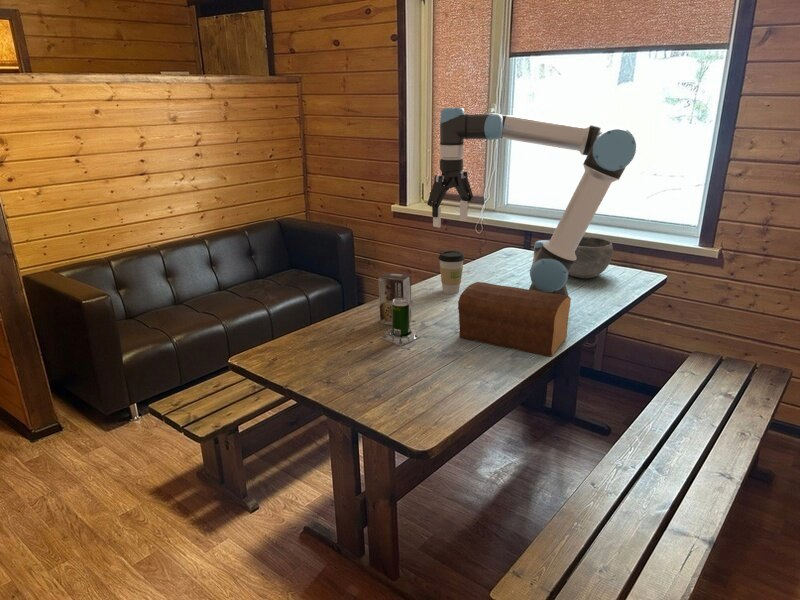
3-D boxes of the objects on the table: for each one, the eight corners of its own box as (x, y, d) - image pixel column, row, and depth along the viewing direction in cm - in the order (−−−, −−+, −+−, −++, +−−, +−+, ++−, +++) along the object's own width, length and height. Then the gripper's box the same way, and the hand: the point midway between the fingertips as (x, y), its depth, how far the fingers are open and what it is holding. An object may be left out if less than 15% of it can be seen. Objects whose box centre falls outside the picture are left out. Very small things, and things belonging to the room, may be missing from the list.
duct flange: (421, 337, 182) (421, 332, 181) (400, 346, 176) (400, 340, 175) (400, 329, 188) (400, 324, 187) (379, 337, 182) (379, 332, 181)
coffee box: (412, 320, 195) (411, 274, 189) (404, 327, 189) (403, 280, 184) (387, 316, 199) (386, 271, 193) (379, 323, 193) (377, 277, 188)
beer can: (406, 340, 178) (406, 303, 174) (390, 338, 180) (389, 302, 176) (411, 333, 183) (411, 297, 179) (395, 331, 185) (394, 296, 181)
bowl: (617, 284, 228) (621, 246, 222) (563, 284, 228) (566, 247, 223) (600, 268, 247) (604, 233, 242) (550, 268, 248) (553, 234, 242)
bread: (551, 360, 166) (555, 307, 160) (456, 339, 180) (457, 290, 175) (568, 337, 180) (572, 288, 175) (479, 320, 195) (480, 274, 189)
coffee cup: (464, 295, 217) (465, 257, 212) (438, 295, 218) (438, 257, 212) (462, 287, 227) (463, 250, 222) (437, 287, 227) (437, 250, 222)
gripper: (467, 154, 197) (465, 215, 204) (416, 161, 181) (416, 228, 188) (484, 155, 192) (482, 218, 199) (434, 162, 176) (433, 231, 183)
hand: (450, 223), depth 194 cm, fingers open, 13 cm apart
